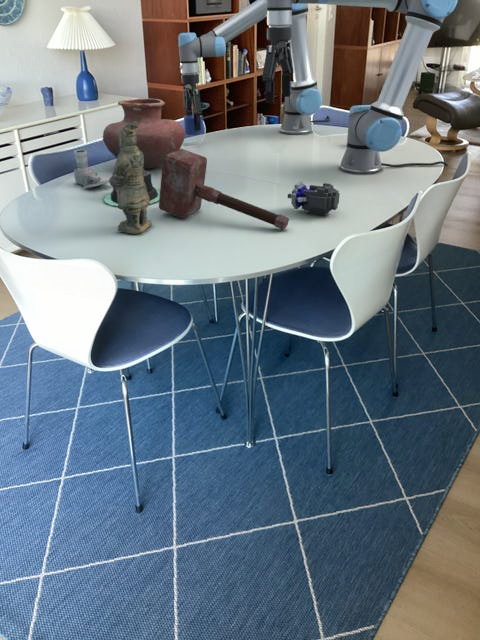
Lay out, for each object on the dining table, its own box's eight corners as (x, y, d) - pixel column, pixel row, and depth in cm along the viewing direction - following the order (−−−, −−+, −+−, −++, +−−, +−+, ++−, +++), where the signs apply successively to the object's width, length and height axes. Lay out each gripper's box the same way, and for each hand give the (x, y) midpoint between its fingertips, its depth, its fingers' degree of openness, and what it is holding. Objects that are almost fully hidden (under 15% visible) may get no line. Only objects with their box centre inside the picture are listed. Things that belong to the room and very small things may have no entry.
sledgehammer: (299, 190, 156) (179, 147, 167) (285, 200, 148) (161, 154, 160) (286, 244, 166) (174, 200, 177) (272, 256, 158) (156, 209, 170)
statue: (131, 220, 168) (117, 116, 152) (158, 224, 164) (147, 118, 149) (109, 233, 159) (93, 124, 144) (138, 237, 156) (124, 126, 140)
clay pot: (194, 158, 230) (190, 94, 217) (174, 179, 204) (168, 107, 192) (124, 156, 235) (116, 93, 222) (96, 176, 209) (85, 106, 197)
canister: (182, 132, 250) (180, 116, 247) (198, 130, 254) (197, 113, 250) (189, 136, 244) (188, 119, 240) (206, 133, 247) (205, 116, 244)
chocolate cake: (91, 202, 180) (113, 186, 197) (142, 231, 182) (160, 212, 199) (107, 162, 172) (129, 148, 190) (160, 192, 174) (177, 176, 192)
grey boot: (85, 147, 201) (110, 154, 192) (90, 179, 207) (114, 187, 198) (64, 151, 195) (89, 159, 186) (70, 184, 201) (94, 193, 193)
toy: (295, 178, 172) (342, 184, 166) (295, 205, 177) (340, 211, 171) (285, 186, 166) (333, 192, 160) (284, 213, 170) (331, 220, 164)
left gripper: (173, 72, 243) (177, 125, 255) (190, 76, 227) (195, 134, 238) (189, 70, 246) (193, 123, 258) (207, 75, 229) (211, 131, 241)
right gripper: (283, 24, 182) (282, 93, 192) (250, 28, 163) (251, 105, 173) (304, 24, 179) (302, 94, 190) (274, 28, 160) (273, 106, 170)
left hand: (194, 128), depth 248 cm, fingers closed on canister, 8 cm apart
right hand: (278, 99), depth 181 cm, fingers open, 13 cm apart
